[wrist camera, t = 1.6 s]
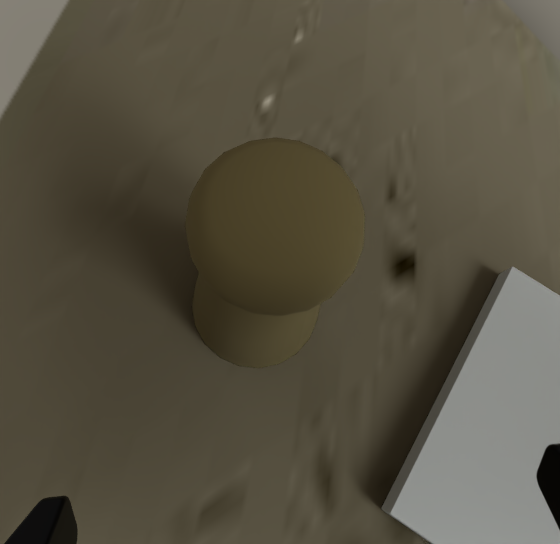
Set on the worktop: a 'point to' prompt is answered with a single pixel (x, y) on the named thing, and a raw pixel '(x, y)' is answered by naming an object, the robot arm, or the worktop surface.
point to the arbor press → (490, 428)
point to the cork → (270, 247)
